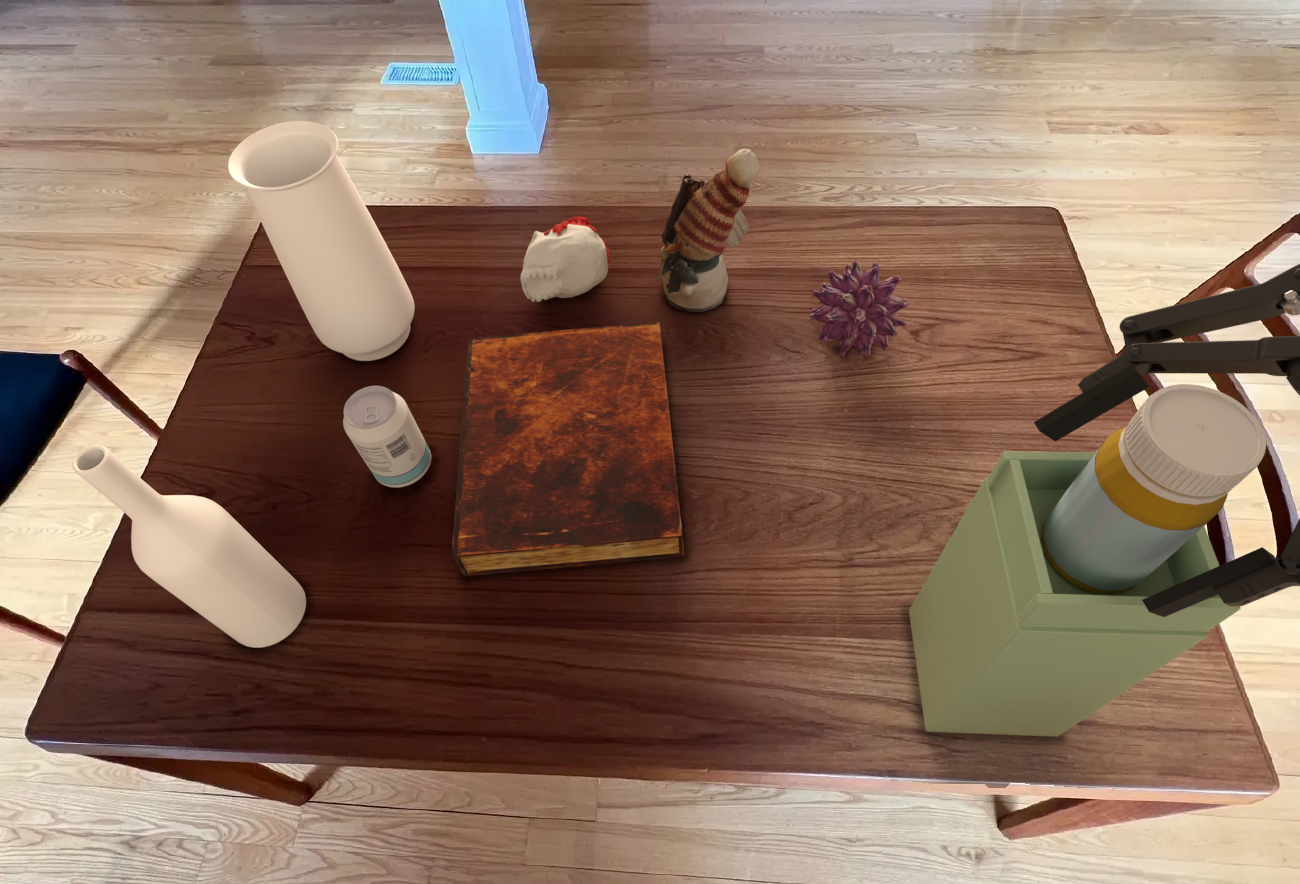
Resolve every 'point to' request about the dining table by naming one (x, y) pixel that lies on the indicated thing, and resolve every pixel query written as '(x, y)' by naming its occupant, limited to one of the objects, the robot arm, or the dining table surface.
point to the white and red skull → (564, 261)
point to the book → (565, 452)
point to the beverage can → (386, 436)
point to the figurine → (705, 234)
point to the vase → (325, 239)
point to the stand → (1039, 615)
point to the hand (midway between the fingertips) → (1094, 514)
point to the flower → (858, 309)
